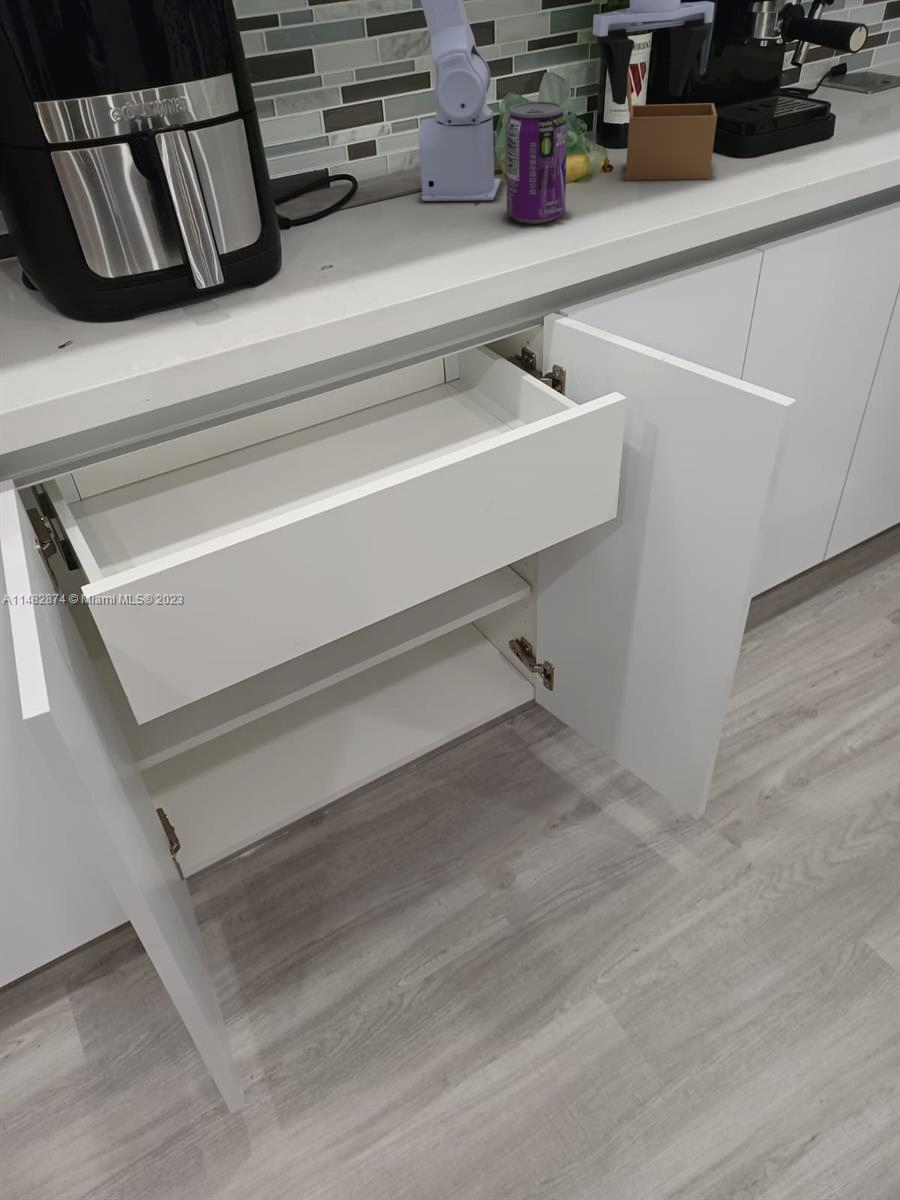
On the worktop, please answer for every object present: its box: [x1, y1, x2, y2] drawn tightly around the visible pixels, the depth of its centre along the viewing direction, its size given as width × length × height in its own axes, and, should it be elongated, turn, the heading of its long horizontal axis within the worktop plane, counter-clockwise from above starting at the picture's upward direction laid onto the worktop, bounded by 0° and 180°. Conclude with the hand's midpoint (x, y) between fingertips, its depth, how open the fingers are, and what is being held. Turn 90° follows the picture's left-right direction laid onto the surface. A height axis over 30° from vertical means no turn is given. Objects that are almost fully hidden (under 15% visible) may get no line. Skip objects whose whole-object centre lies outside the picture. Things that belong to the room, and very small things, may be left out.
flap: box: [626, 69, 633, 114], centre depth 111 cm, size 5×7×1 cm
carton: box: [624, 102, 718, 181], centre depth 115 cm, size 11×7×7 cm, turn 81°
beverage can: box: [505, 100, 568, 225], centre depth 103 cm, size 7×7×12 cm
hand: (647, 98), depth 106 cm, fingers open, 7 cm apart
